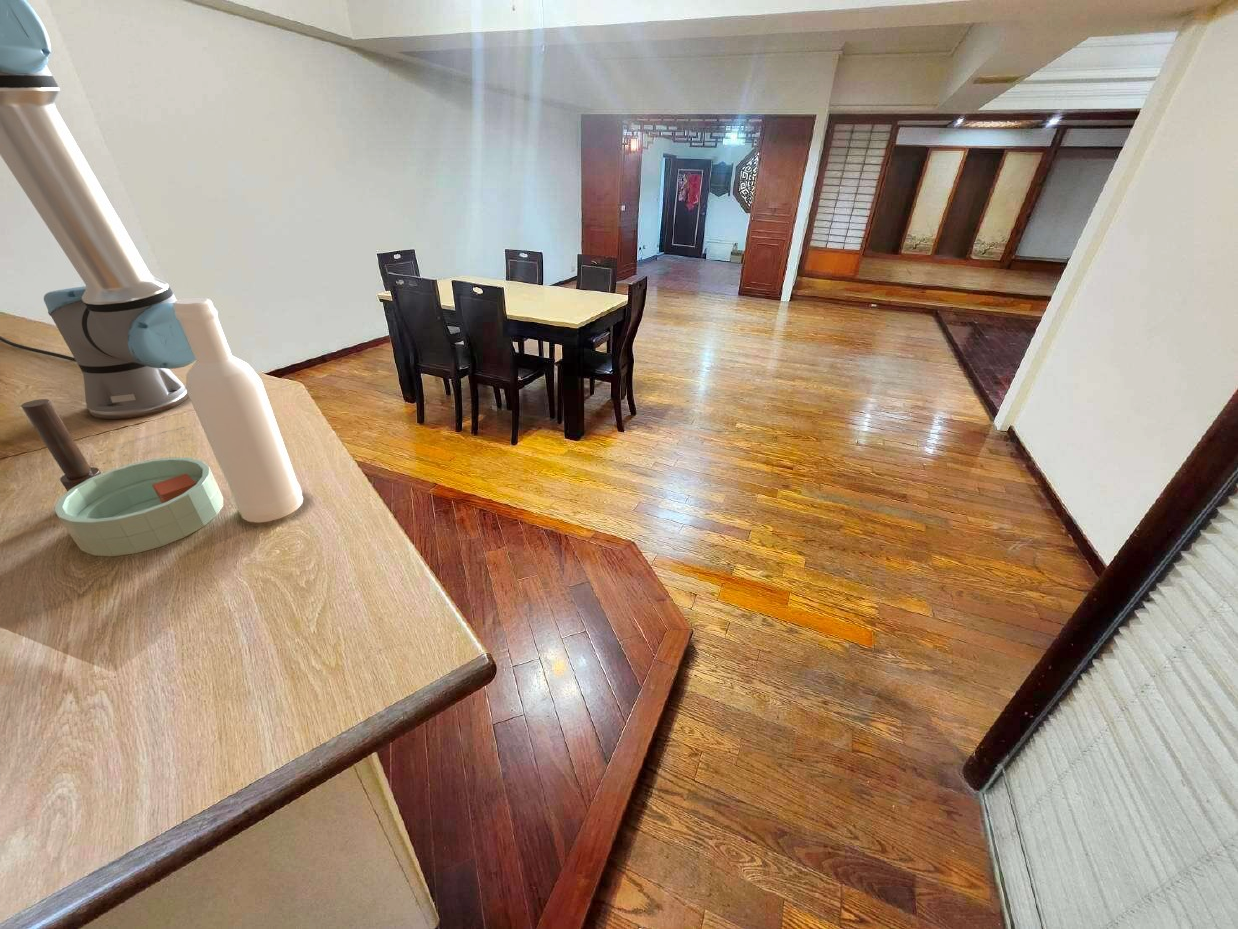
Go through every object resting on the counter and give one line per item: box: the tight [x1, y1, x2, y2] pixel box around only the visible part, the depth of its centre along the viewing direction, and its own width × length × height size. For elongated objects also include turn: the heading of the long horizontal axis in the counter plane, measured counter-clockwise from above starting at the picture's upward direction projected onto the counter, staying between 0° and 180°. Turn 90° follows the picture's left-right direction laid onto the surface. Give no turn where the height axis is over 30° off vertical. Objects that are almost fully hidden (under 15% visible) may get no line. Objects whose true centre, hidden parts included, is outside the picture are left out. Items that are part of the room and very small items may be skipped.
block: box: [152, 474, 197, 503], centre depth 70 cm, size 4×4×4 cm
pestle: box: [20, 398, 102, 493], centre depth 68 cm, size 4×4×16 cm
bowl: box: [53, 456, 224, 557], centre depth 68 cm, size 16×16×6 cm
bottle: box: [173, 297, 304, 523], centre depth 65 cm, size 8×8×30 cm
